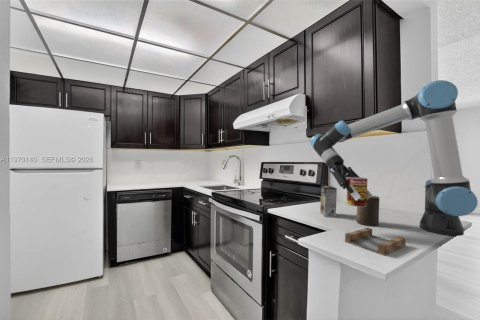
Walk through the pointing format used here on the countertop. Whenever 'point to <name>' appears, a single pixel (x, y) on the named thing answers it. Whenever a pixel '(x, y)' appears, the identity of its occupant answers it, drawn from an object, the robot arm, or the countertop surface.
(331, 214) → the coffee box
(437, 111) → the robot arm
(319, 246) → the countertop surface
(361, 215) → the pillar candle
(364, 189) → the canned food
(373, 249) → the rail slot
